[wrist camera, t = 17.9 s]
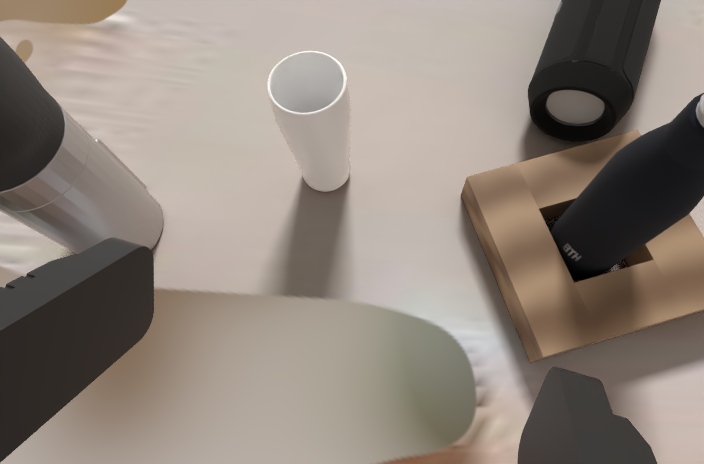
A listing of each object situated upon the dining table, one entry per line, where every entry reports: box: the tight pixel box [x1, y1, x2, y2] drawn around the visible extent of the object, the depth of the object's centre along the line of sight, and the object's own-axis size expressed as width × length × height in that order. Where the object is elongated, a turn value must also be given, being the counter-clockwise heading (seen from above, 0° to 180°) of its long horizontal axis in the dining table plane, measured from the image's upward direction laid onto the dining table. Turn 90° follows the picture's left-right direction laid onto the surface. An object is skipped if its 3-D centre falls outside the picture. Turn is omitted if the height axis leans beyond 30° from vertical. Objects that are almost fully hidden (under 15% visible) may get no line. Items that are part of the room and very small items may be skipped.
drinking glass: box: [267, 51, 351, 192], centre depth 46 cm, size 7×7×15 cm
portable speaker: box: [528, 0, 661, 141], centre depth 52 cm, size 26×10×10 cm, turn 156°
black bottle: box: [549, 93, 704, 281], centre depth 34 cm, size 6×6×30 cm
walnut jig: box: [461, 130, 704, 363], centre depth 46 cm, size 18×18×4 cm
